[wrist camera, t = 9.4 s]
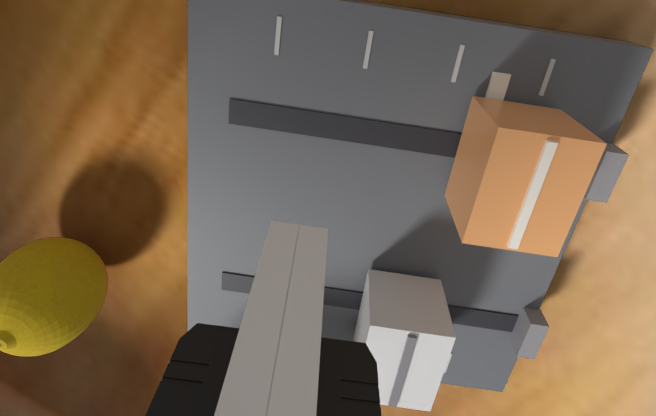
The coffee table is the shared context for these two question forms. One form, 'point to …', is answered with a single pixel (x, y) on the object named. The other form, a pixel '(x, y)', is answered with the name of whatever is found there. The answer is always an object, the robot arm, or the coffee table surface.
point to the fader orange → (520, 176)
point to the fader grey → (406, 336)
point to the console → (377, 155)
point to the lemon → (49, 295)
